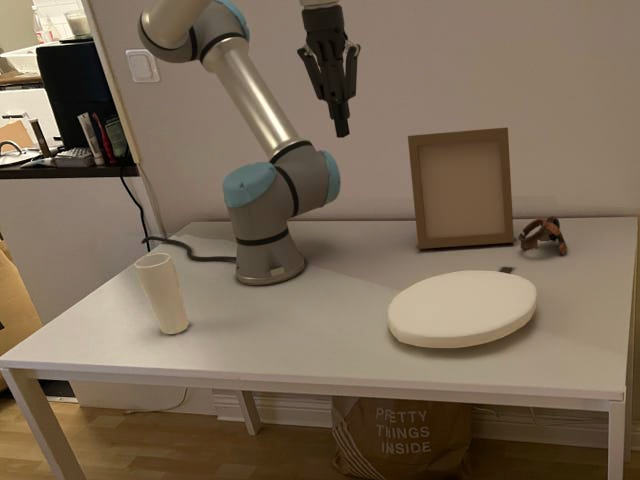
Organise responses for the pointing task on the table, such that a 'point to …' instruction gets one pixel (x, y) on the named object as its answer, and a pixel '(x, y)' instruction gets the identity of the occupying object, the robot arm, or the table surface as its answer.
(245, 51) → the robot arm
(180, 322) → the drinking glass
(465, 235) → the photo frame
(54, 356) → the table surface
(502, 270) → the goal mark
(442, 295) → the plate
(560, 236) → the brown curved piece
